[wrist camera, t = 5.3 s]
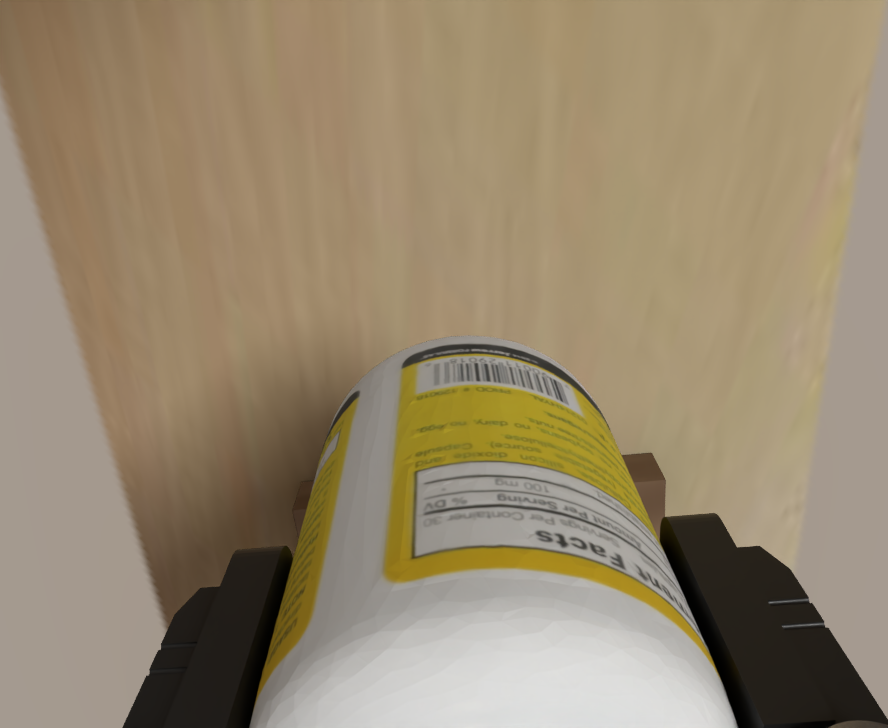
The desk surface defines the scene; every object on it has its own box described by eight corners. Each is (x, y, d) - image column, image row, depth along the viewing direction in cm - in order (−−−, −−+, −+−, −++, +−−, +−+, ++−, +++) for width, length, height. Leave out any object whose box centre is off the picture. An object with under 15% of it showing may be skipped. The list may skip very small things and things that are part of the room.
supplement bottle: (426, 610, 16) (403, 1370, 7) (270, 419, 14) (-46, 1119, 5) (658, 496, 15) (1002, 1231, 6) (522, 270, 13) (710, 831, 4)
